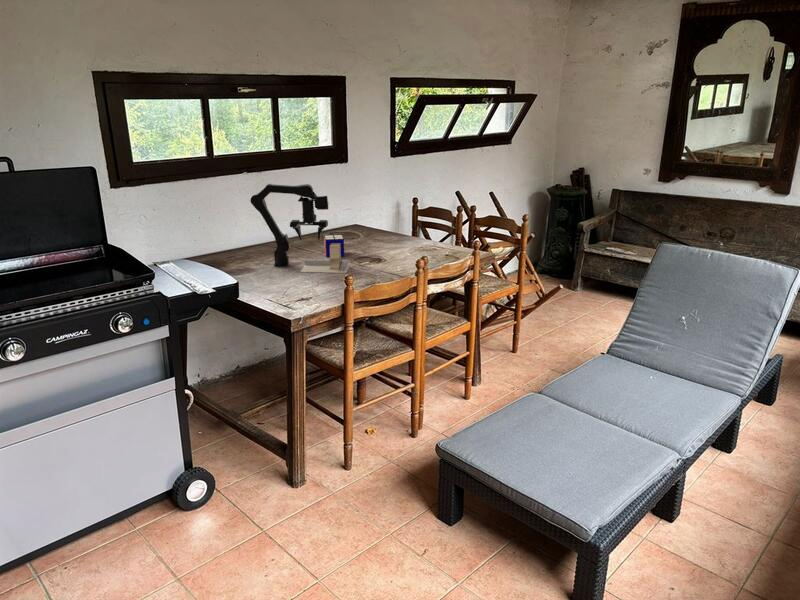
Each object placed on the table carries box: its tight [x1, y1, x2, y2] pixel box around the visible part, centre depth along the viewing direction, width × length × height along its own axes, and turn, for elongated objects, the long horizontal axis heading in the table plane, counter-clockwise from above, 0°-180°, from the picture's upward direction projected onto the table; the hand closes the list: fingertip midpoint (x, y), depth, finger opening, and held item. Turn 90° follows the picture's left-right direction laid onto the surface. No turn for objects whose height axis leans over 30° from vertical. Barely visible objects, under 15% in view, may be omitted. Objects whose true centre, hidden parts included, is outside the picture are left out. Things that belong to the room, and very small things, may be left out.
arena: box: [299, 258, 351, 274], centre depth 306 cm, size 23×14×3 cm, turn 87°
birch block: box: [329, 243, 342, 269], centre depth 305 cm, size 6×4×12 cm
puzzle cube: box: [323, 234, 345, 258], centre depth 333 cm, size 10×10×10 cm
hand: (309, 240), depth 310 cm, fingers open, 9 cm apart
